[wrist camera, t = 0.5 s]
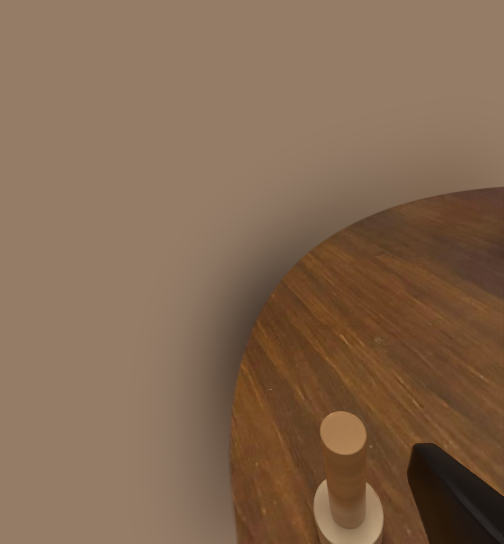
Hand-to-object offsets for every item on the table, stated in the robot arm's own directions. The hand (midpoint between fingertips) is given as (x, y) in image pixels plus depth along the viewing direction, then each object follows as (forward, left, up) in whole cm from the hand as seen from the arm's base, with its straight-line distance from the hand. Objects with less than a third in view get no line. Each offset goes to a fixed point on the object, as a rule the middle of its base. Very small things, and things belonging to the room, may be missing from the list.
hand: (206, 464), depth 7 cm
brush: (+3, -4, -16) cm, 16 cm away
